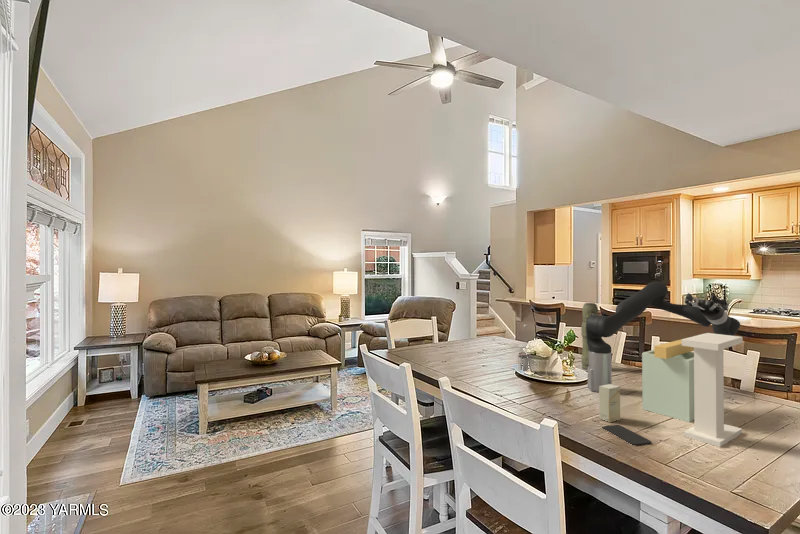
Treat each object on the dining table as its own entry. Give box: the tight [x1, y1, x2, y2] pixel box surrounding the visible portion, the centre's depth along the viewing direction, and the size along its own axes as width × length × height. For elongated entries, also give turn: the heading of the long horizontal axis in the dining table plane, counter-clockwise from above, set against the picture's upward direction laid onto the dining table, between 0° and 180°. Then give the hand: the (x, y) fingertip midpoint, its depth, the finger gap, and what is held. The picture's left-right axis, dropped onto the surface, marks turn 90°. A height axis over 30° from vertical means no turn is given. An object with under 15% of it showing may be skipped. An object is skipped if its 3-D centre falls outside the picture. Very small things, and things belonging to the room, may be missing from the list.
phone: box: [602, 424, 652, 446], centre depth 137 cm, size 7×1×15 cm
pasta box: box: [653, 338, 694, 359], centre depth 159 cm, size 28×4×4 cm, turn 123°
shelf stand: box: [682, 332, 744, 448], centre depth 136 cm, size 20×10×32 cm, turn 123°
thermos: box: [580, 302, 599, 371], centre depth 221 cm, size 9×12×35 cm
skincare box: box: [598, 384, 621, 423], centre depth 151 cm, size 6×4×12 cm
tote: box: [641, 349, 695, 423], centre depth 158 cm, size 16×16×22 cm
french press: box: [517, 324, 529, 371], centre depth 215 cm, size 10×12×25 cm
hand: (699, 295), depth 170 cm, fingers open, 8 cm apart
